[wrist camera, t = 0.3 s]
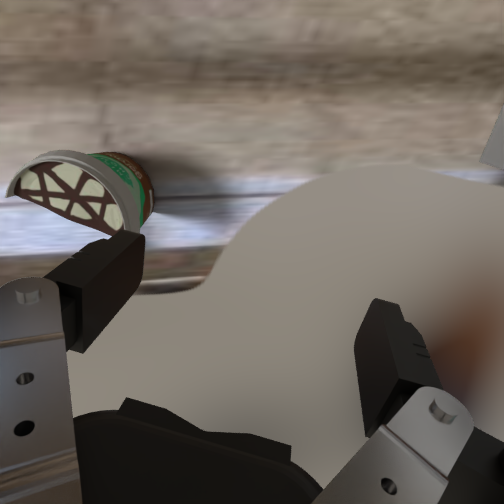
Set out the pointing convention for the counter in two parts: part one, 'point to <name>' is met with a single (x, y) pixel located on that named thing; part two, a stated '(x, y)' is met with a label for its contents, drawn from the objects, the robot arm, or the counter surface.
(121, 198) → the food container
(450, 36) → the counter surface
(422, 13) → the counter surface
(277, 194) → the counter surface
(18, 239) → the counter surface
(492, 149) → the tall grey pillar
